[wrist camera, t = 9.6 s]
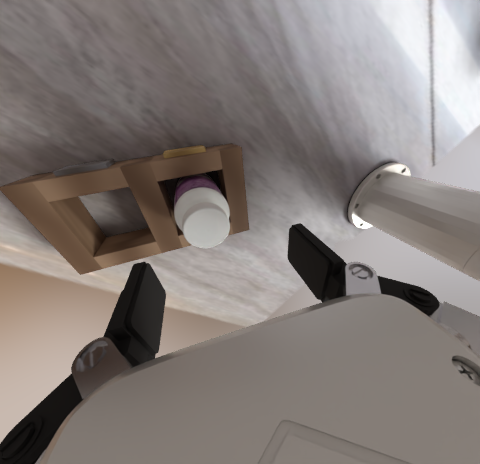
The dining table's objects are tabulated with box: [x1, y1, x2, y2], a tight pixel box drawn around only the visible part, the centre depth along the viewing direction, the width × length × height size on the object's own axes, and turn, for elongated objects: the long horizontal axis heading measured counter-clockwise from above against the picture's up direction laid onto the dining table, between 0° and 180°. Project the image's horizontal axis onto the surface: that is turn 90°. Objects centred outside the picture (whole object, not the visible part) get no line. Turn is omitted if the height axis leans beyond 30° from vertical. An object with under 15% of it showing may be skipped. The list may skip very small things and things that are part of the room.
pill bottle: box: [174, 173, 230, 248], centre depth 18 cm, size 5×5×10 cm
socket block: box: [0, 143, 249, 275], centre depth 19 cm, size 20×10×4 cm, turn 96°
